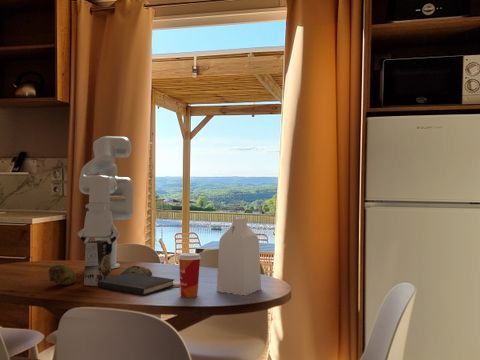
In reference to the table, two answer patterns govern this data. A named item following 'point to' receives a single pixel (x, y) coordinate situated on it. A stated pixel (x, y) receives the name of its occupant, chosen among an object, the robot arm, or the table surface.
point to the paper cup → (189, 274)
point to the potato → (61, 274)
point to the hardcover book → (136, 283)
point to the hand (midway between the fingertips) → (98, 253)
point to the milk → (239, 260)
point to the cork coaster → (176, 285)
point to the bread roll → (137, 270)
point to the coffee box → (96, 262)
